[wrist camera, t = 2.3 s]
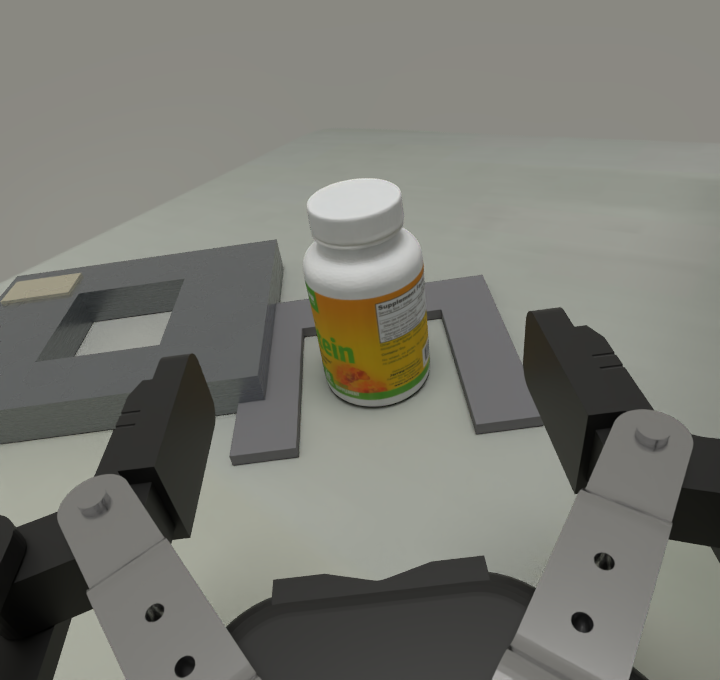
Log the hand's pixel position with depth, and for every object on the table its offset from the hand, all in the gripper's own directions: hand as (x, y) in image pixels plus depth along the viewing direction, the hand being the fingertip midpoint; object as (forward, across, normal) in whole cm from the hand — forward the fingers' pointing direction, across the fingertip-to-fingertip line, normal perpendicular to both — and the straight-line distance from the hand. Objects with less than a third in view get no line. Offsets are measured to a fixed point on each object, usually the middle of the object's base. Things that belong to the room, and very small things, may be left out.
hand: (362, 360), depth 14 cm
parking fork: (+12, 0, +10) cm, 15 cm away
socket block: (+17, +14, +10) cm, 25 cm away
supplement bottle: (+12, 0, +10) cm, 16 cm away
